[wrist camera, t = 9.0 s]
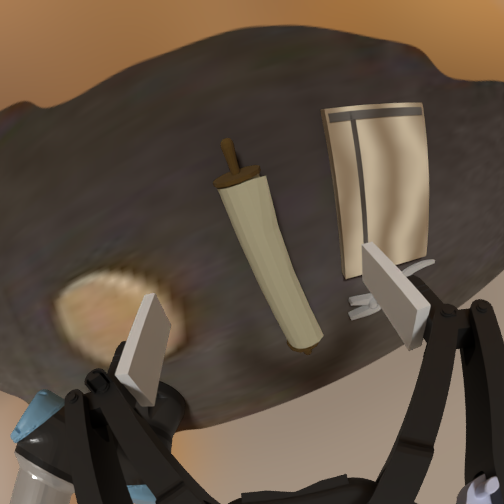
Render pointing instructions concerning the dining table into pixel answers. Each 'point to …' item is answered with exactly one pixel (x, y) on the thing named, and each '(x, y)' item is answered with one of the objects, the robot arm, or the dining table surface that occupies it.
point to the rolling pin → (266, 250)
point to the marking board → (379, 180)
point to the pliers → (370, 302)
